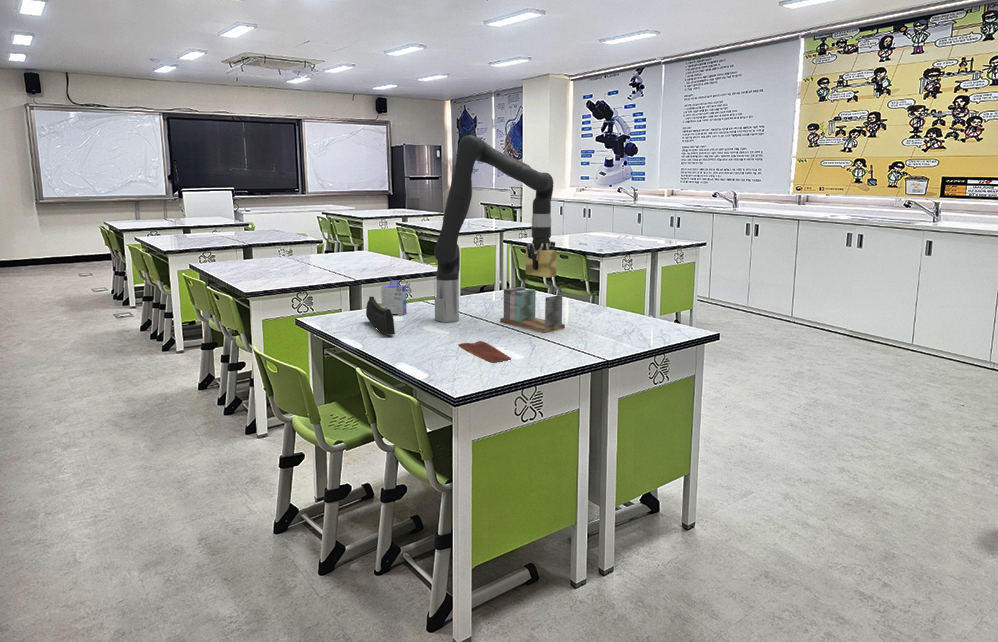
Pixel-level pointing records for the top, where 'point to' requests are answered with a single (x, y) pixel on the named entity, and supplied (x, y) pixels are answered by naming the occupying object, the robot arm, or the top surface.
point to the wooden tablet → (485, 351)
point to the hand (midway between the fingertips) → (540, 268)
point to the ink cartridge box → (394, 298)
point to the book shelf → (531, 310)
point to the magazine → (380, 317)
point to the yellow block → (543, 264)
